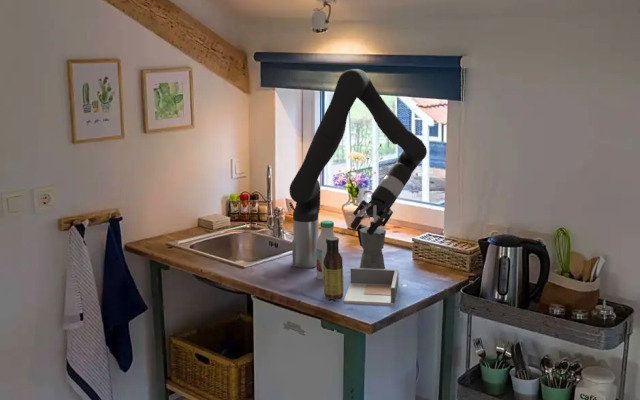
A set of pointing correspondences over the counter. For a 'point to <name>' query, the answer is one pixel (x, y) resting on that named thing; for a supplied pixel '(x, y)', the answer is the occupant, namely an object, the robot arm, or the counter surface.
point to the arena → (373, 286)
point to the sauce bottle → (333, 270)
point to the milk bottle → (323, 246)
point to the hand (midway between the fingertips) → (360, 231)
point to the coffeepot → (371, 247)
